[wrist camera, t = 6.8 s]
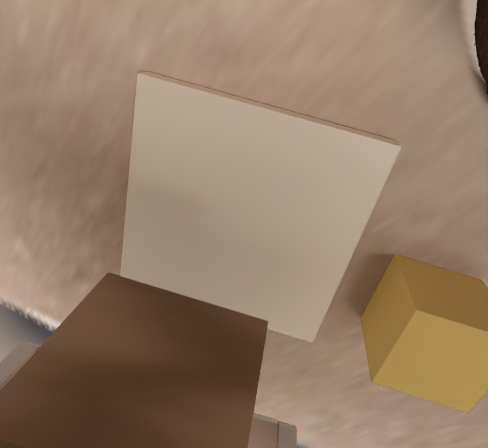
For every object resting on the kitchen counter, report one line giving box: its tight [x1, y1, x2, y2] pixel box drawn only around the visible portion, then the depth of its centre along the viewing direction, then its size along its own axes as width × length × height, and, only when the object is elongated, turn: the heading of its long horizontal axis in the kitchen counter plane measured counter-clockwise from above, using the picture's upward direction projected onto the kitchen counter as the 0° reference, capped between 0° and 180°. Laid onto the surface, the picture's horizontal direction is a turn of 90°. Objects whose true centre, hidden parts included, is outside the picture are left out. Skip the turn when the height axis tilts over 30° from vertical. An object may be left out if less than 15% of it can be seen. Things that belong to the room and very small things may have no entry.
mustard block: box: [361, 254, 488, 413], centre depth 19 cm, size 5×5×5 cm
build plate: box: [120, 72, 402, 343], centre depth 21 cm, size 13×13×1 cm
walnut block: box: [0, 272, 268, 448], centre depth 10 cm, size 5×5×5 cm
